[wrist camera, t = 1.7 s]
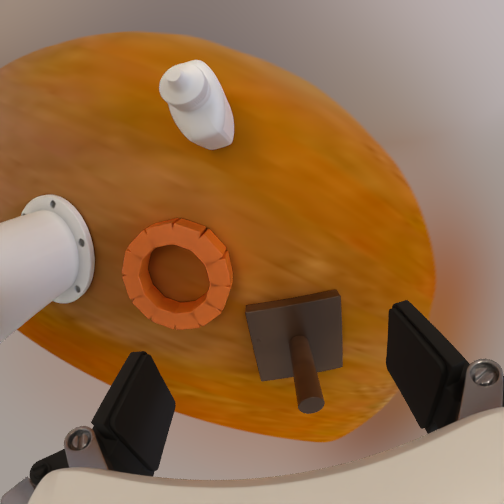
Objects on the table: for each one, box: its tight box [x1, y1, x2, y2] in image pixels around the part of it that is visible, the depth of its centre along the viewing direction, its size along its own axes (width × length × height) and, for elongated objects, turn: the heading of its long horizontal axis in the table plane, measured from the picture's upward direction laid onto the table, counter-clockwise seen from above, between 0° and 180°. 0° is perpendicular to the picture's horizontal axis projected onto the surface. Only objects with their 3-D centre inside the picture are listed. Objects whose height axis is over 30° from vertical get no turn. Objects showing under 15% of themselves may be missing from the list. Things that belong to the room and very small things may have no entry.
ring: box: [122, 218, 233, 330], centre depth 25 cm, size 10×10×2 cm
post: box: [245, 290, 343, 414], centre depth 23 cm, size 9×9×10 cm
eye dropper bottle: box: [159, 60, 234, 150], centre depth 16 cm, size 4×6×12 cm
